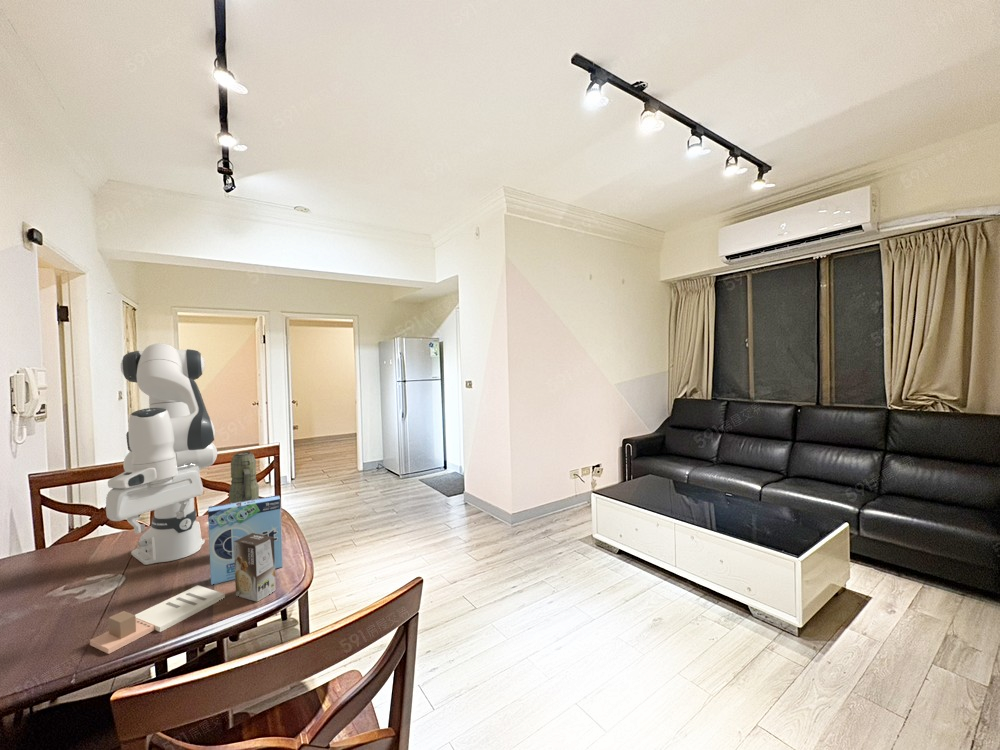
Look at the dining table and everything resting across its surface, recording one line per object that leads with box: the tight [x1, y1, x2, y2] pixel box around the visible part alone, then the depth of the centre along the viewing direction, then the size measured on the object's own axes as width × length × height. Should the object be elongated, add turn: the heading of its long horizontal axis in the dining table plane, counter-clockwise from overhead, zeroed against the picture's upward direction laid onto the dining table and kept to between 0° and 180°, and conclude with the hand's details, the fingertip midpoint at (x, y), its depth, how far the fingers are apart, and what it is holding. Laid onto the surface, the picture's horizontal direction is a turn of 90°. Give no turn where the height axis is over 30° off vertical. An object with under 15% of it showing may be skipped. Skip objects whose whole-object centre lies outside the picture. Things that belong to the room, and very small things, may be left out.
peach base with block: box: [89, 610, 155, 655], centre depth 100 cm, size 8×9×5 cm
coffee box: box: [234, 533, 277, 602], centre depth 119 cm, size 9×6×16 cm
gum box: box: [207, 494, 284, 586], centre depth 131 cm, size 20×5×23 cm, turn 123°
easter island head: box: [228, 451, 260, 503], centre depth 145 cm, size 9×12×35 cm
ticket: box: [134, 584, 226, 633], centre depth 112 cm, size 12×16×1 cm
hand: (161, 524), depth 106 cm, fingers open, 8 cm apart
